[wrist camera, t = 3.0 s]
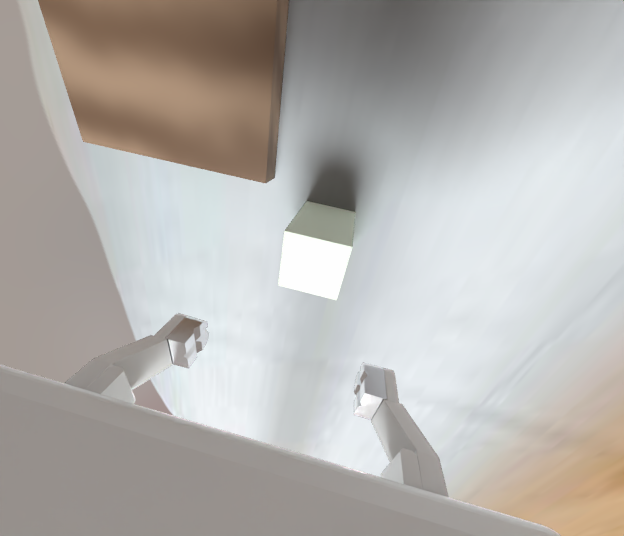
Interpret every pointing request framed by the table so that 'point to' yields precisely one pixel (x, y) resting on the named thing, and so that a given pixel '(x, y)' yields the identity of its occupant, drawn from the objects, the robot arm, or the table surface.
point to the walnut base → (176, 78)
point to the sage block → (317, 249)
